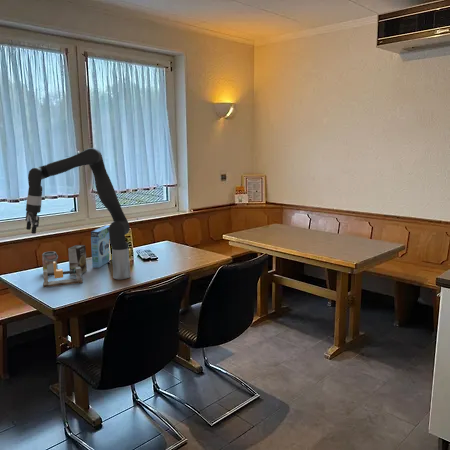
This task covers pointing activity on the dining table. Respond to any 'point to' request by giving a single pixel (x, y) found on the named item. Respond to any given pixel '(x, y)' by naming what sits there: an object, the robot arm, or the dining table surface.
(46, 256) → the beverage can
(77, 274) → the cord rig
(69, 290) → the dining table surface
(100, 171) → the robot arm
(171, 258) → the dining table surface
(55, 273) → the sleeve
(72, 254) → the coffee box
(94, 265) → the light blue box
